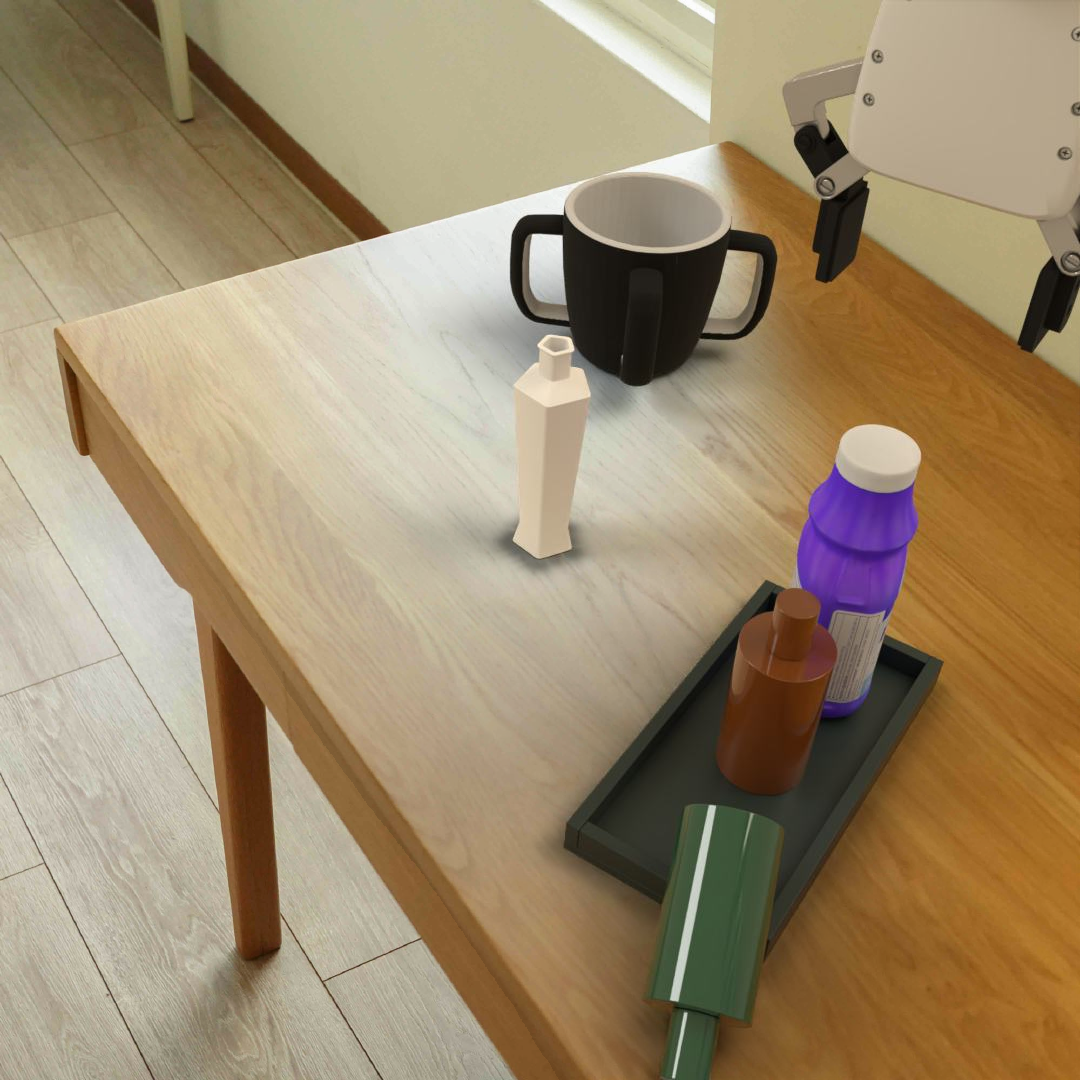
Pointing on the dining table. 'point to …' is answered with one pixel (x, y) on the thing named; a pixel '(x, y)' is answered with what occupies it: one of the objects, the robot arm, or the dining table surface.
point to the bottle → (859, 552)
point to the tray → (694, 778)
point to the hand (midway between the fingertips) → (931, 303)
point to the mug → (641, 271)
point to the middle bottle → (776, 695)
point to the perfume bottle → (549, 446)
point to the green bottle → (712, 931)
